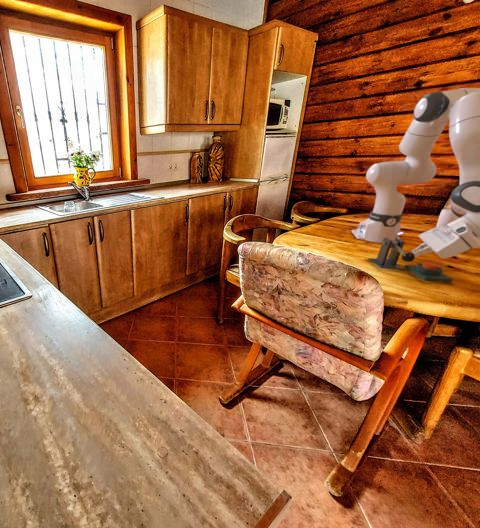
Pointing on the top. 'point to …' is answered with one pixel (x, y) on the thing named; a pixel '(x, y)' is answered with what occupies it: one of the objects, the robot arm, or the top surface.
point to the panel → (428, 273)
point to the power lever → (403, 252)
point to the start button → (430, 265)
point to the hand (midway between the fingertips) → (413, 253)
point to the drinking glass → (446, 217)
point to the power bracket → (383, 253)
